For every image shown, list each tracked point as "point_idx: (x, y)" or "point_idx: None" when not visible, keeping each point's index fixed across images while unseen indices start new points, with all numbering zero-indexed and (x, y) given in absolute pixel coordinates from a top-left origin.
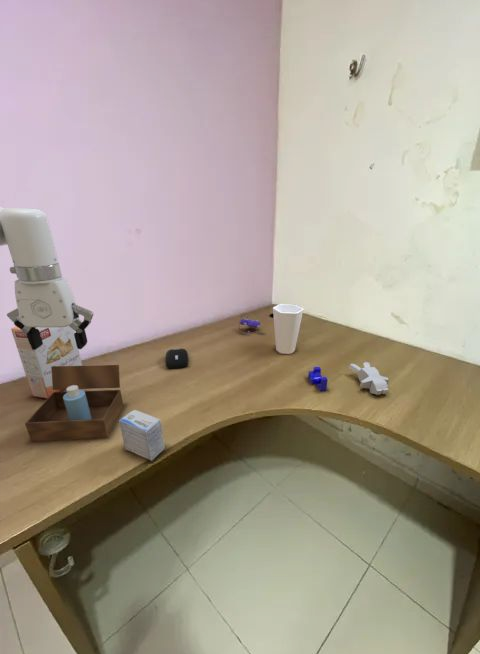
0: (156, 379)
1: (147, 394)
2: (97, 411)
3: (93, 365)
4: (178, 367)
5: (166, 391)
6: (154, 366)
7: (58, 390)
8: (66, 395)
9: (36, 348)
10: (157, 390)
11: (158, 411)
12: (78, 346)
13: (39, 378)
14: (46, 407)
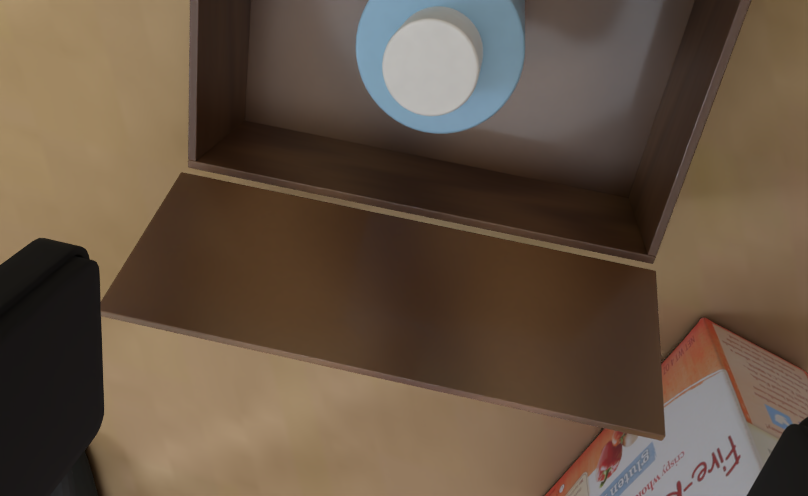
0: (117, 349)
1: (128, 209)
2: None
3: (304, 356)
4: None
5: (25, 210)
6: (162, 478)
7: None
8: (500, 58)
9: (787, 441)
10: (81, 235)
11: (12, 3)
12: (34, 261)
13: (769, 428)
14: (683, 117)
